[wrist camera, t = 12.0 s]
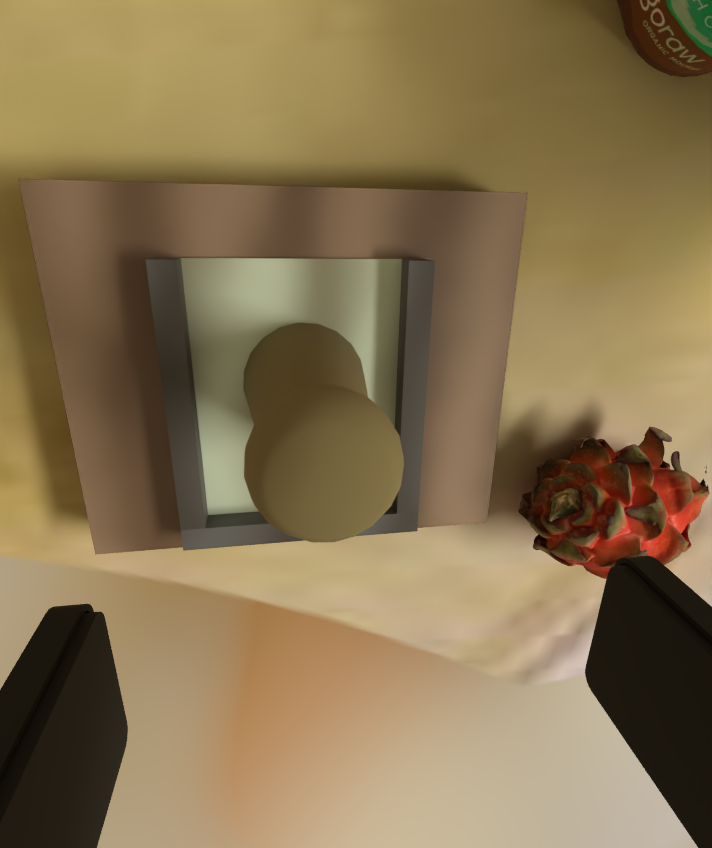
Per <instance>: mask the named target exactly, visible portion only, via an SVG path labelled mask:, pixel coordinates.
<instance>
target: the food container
mask: <svg viewBox="0 0 712 848" xmlns="http://www.w3.org/2000/svg"><path fill="white" fill-rule="evenodd" d="M617 1H618V5H619V9H620V12H621V16H622V20H623V24H624V28H625V31H626V34H627V36H628V38H629V39H630V41H631V43H632V44H633V46H634V48H635V49H636V51H637V52H638V54H639V55H640V56H641V57H642V58H643V59H644V60H645V61H646V62H647V63H648V64H649V65H651V66H652V67H654V68H655V69H657V70H658V71H661V72H664V73H666V74H669V75H674V76H681V77H686V76H697V75H701V74H705V73H709V72H712V0H617Z"/></svg>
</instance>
